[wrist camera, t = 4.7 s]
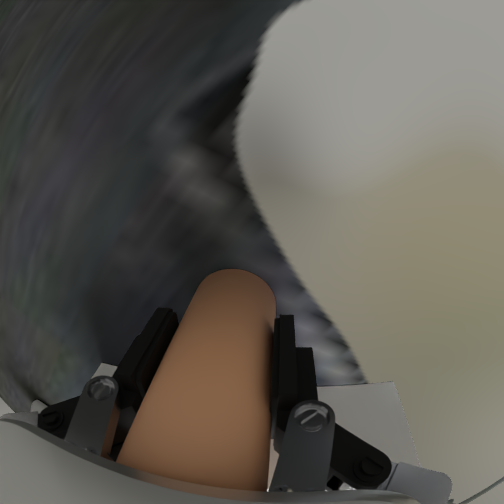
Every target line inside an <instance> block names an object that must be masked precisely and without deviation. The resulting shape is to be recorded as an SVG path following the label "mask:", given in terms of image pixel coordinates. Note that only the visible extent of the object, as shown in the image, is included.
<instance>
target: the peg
mask: <svg viewBox="0 0 504 504" xmlns="http://www.w3.org/2000/svg"><path fill="white" fill-rule="evenodd" d="M274 318H276V300H275V297H274V294H273V292H272V290H271V288H270V287H269V286H268V284H267V283H266V282H265V281H264V280H262V279H261V278H260V277H258V276H257V275H255V274H253V273H251V272H248V271H245V270H240V269H224V270H219V271H216V272H214V273H212V274H210V275H208V276H207V277H206V278H205V279H204V280H203V281H202V282H201V283H200V285H199V286H198V288H197V290H196V292H195V294H194V296H193V298H192V300H191V302H190V304H189V306H188V308H187V310H186V312H185V314H184V316H183V318H182V320H181V322H180V324H179V326H178V328H177V330H176V332H175V334H174V336H173V338H172V340H171V342H170V344H169V346H168V348H167V350H166V352H165V355H164V357H163V359H162V361H161V363H160V365H159V367H158V369H157V371H156V373H155V376H154V378H153V380H152V382H151V384H150V386H149V388H148V390H147V393H146V395H145V397H144V399H143V401H142V403H141V406H140V408H139V410H138V412H137V414H136V417H135V419H134V421H133V423H132V426H131V428H130V430H129V432H128V435H127V437H126V439H125V441H124V444H123V446H122V448H121V451H120V453H119V455H118V458H117V460H116V463H119V464H122V465H125V466H128V467H131V468H134V469H138V470H141V471H144V472H148V473H151V474H155V475H159V476H163V477H167V478H171V479H175V480H180V481H184V482H189V483H195V484H200V485H206V486H213V487H220V488H228V489H237V490H248V491H265V492H267V489H268V476H269V461H270V445H271V428H272V416H271V413H270V401H271V382H272V361H273V338H274Z"/></svg>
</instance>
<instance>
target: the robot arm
mask: <svg viewBox="0 0 504 504" xmlns="http://www.w3.org/2000/svg"><path fill="white" fill-rule="evenodd" d="M178 326H179V324H178V319H177V314H176V313H175V312H173V311H172V309H171V308H161V307H159V308H157V309H156V311H155V312H154V314H153V315H152V317H151V319H150V320H149V322H148V323H147V325H146V326H145V328H144V329H143V331H142V333H141V334H140V335H138V336H137V337H136V338H135V340H134V342H133V343H132V345H131V346H130V348H129V350H128V351H127V353H126V354H125V356H124V358H123V359H122V361H121V362H120V364H119V366H118V367H117V369H116V371H115V372H114V374H113V375H112V377H110V376H106V375H100V376H96V377H94V378H92V379H90V380H89V381H88V382H87V383H86V385H85V386H84V389H83V391H82V394H81V395H80V396H78V397H75V398H72V399H69V400H66V401H63V402H60V403H57V404H54V405H51V406H48V407H46V408H44V409H43V410H42V411H41V413H39V412H38V411H34V412H22V413H8V414H4V415H3V416H1V417H0V504H447V502H448V499H449V496H450V493H451V490H452V481H451V479H450V477H449V476H447V475H446V474H444V473H441V472H437V471H433V470H429V469H425V468H421V467H418V466H414V465H410V464H407V463H404V462H399V463H395V462H392V461H391V460H390V459H389V457H388V456H387V455H386V454H385V453H383V452H382V451H380V450H378V449H377V448H375V447H373V446H372V445H370V444H368V443H367V442H365V441H363V440H362V439H360V438H359V437H357V436H355V435H354V434H352V433H351V432H349V431H348V430H346V429H344V428H343V427H341V426H340V425H338V424H337V423H335V413H334V411H333V409H332V408H331V407H330V406H329V405H328V404H326V403H324V402H322V401H318V393H317V384H316V375H315V366H314V357H313V350H312V347H296V346H295V329H294V315H280V318H274V338H273V361H272V382H271V401H270V413H271V416H272V428H271V439H274V440H273V446H274V450H275V451H276V452H277V453H278V454H279V457H278V460H277V464H276V467H275V471H274V474H273V477H272V481H271V484H270V487H269V490H268V492H265V491H248V490H237V489H228V488H220V487H213V486H206V485H200V484H195V483H189V482H184V481H180V480H175V479H171V478H167V477H163V476H159V475H155V474H151V473H148V472H144V471H141V470H138V469H134V468H131V467H128V466H125V465H122V464H119V463H116V460H117V458H118V455H119V453H120V451H121V448H122V446H123V444H124V441H125V439H126V437H127V435H128V432H129V430H130V428H131V426H132V423H133V421H134V419H135V417H136V414H137V412H138V410H139V408H140V406H141V403H142V401H143V399H144V397H145V395H146V393H147V390H148V388H149V386H150V384H151V382H152V380H153V378H154V376H155V373H156V371H157V369H158V367H159V365H160V363H161V361H162V359H163V357H164V355H165V352H166V350H167V348H168V346H169V344H170V342H171V340H172V338H173V336H174V334H175V332H176V330H177V328H178ZM325 490H327V491H325Z"/></svg>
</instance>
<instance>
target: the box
mask: <svg viewBox="0 0 504 504" xmlns="http://www.w3.org/2000/svg"><path fill="white" fill-rule="evenodd" d="M116 369H117V366H113V365H109V364H105V363H101V365H100V366H99V368H98V369H97V371H96V372H95V374H94V375H93V377H92V378H94V377H96V376H100V375H106V376H110V377H112V375H113V374H114V372H115V371H116ZM92 378H91V379H92ZM317 393H318V401H322V402H324V403H326V404H328V405H329V406H330V407H331V408H332V409H333V411H334V413H335V423H337V424H338V425H340V426H341V427H343V428H344V429H346V430H348V431H349V432H351V433H352V434H354V435H355V436H357V437H359V438H360V439H362V440H363V441H365V442H367V443H368V444H370V445H372V446H373V447H375V448H377V449H378V450H380V451H382V452H383V453H385V454H386V455H387V456H388V457H389V459H390V460H391V461H392V462H395V463H399V462H404V463H407V464H410V465H414V466H418V467H420V464H419V460H418V456H417V453H416V449H415V446H414V442H413V439H412V436H411V432H410V429H409V426H408V423H407V420H406V416H405V413H404V410H403V407H402V405H401V401H400V399H399V396H398V393H397V390H396V387H395V384H394V382H393V381H390V382H382V383H372V384H360V385H346V386H326V387H317ZM273 440H274V439H271V445H270V461H269V476H268V489H267V492H268V490H269V487H270V484H271V481H272V477H273V474H274V471H275V467H276V464H277V460H278V457H279V454H278V453H277V452H276V451H275V450H274V446H273ZM325 491H327V490H325Z"/></svg>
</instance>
